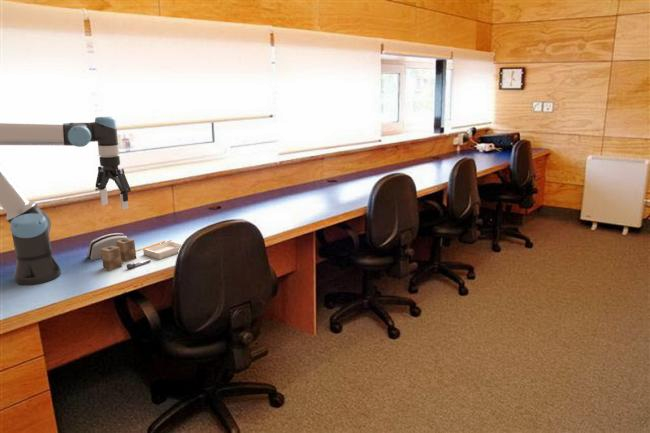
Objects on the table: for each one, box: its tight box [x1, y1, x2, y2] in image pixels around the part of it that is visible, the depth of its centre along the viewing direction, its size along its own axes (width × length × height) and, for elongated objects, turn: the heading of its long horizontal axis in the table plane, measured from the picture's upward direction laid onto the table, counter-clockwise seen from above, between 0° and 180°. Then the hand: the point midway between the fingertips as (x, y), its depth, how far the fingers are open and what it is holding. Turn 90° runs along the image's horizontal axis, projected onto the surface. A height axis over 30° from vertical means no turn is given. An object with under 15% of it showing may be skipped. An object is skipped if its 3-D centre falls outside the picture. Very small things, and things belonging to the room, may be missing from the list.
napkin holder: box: [86, 232, 128, 261], centre depth 214 cm, size 17×5×10 cm, turn 139°
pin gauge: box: [126, 259, 151, 270], centre depth 201 cm, size 10×2×2 cm, turn 143°
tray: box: [142, 240, 183, 260], centre depth 215 cm, size 14×11×3 cm
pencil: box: [135, 240, 166, 253], centre depth 223 cm, size 1×18×1 cm, turn 146°
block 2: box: [116, 237, 137, 263], centre depth 208 cm, size 5×5×8 cm
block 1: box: [101, 245, 123, 272], centre depth 198 cm, size 5×5×8 cm
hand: (114, 206), depth 210 cm, fingers open, 13 cm apart
